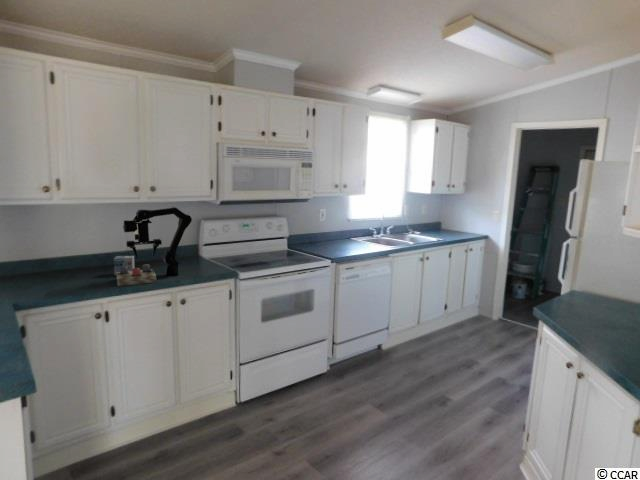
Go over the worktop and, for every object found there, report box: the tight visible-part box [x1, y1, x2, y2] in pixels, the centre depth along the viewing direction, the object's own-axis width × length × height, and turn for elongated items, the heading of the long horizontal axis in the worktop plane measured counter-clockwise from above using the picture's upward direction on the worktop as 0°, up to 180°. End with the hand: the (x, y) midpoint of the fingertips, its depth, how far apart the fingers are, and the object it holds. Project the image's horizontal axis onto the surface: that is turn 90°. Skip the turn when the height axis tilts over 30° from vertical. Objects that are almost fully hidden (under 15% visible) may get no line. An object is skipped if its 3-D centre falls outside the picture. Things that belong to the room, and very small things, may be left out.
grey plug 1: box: [120, 266, 128, 275], centre depth 235 cm, size 4×4×4 cm
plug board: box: [115, 269, 157, 287], centre depth 235 cm, size 20×16×4 cm
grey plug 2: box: [142, 263, 151, 273], centre depth 241 cm, size 4×4×4 cm
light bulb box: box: [113, 255, 136, 276], centre depth 250 cm, size 11×7×11 cm, turn 105°
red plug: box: [132, 267, 141, 277], centre depth 231 cm, size 4×4×4 cm
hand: (145, 257), depth 240 cm, fingers open, 9 cm apart
